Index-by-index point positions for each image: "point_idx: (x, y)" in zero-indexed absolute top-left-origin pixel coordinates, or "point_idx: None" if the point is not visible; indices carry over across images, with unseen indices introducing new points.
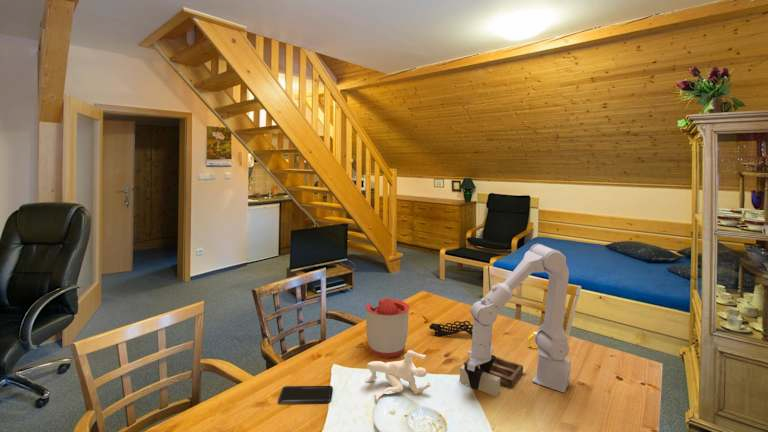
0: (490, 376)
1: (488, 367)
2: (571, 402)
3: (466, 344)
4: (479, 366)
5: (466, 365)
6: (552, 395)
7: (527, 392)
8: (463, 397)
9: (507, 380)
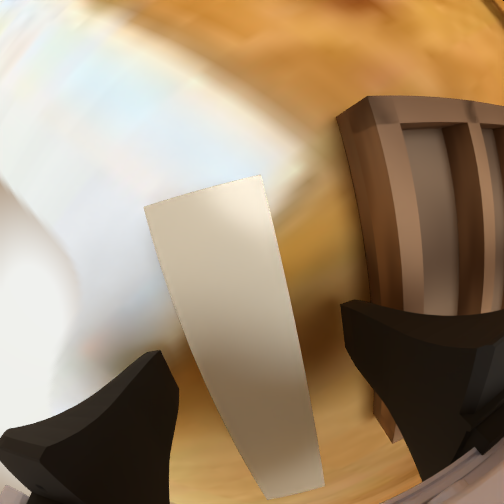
0: (286, 469)
1: (394, 407)
2: (399, 485)
3: (493, 36)
4: (446, 187)
5: (18, 466)
6: (408, 463)
7: (384, 444)
8: (85, 338)
9: (390, 423)
